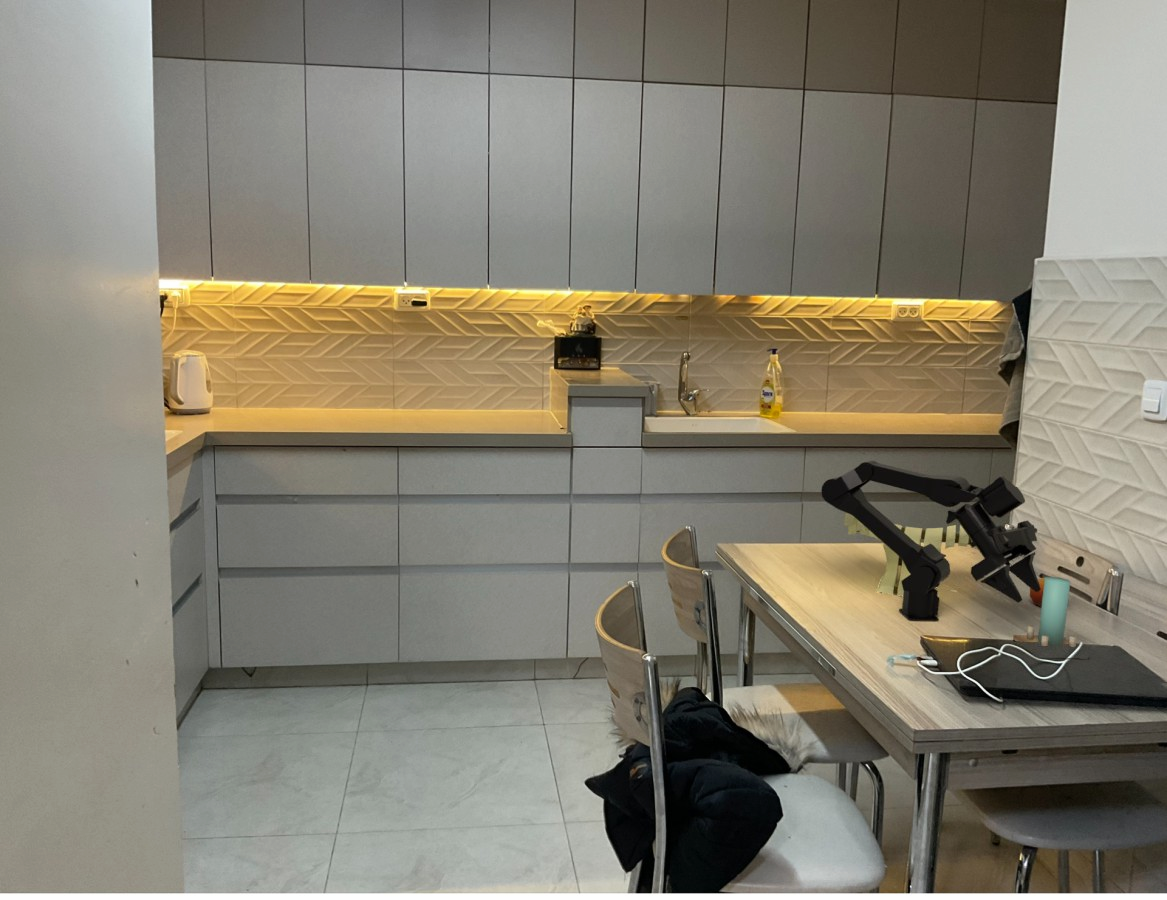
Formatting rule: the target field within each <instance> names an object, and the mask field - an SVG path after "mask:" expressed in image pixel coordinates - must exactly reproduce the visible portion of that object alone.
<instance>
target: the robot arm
mask: <svg viewBox="0 0 1167 900" xmlns="http://www.w3.org/2000/svg"><path fill="white" fill-rule="evenodd" d="M870 482H875V483H878V484H883V485H886V486H890V487H894V488H898V489H902V490H905V491H910V492H914V493H917V494H921V495H922V496H924V497H926V498H927V499H929V500H930V501H932V502H934V503H937V504H939V505H941V506H944V507H947V508H952V507H956V506H958V505H960V504H964V505H962V506H961V507H958V508H957V509H956V510H954V509H950V510H949V509H948V510H947V517H946V520H945V522H946V524H947V525H949V524H952V523H955V522H957V523H959V526H960V525H961V526H962V528H963V529H964V530H965V532H966V533H967V535H968V536H969V537H970V539H971V540H972V542H971V543H970V545H969V546H970V548H971V547H972V549H974V548H973V547H975V546H976V547H977V549H978V551H979V553H980V554H981V556H982V557H983V559H982V560H981V561H979V562H977V563H975V564H974V565H972V566H971V568H970V574H971V576H972V578H973V579H974V580H975V582H978V581H980V583H981V584H986V585H987V586H989V587H991V588H993V589H995V591H998V592H1000V593H1001V594H1003V595H1005V596H1006V597H1008V598H1010V599H1011V600H1012V601H1015V603H1020V602H1022V601H1023V597H1022V595H1021V594H1020V591H1019V590H1018V588H1017V586H1016V584H1015V583H1014V581H1013V578H1011V576H1010V573H1012V574H1013V575H1014V576H1015V577H1017V578H1018V580H1020V581H1021V582H1023V583H1024V584H1025V585H1026V586H1027V587H1029V589H1030V588H1031V589H1033V590H1034V591H1035V592H1038V591H1040V590H1041V588H1040V585H1039V582H1038V579H1039V578H1038V576H1037V574H1036V570H1035V568H1034V563H1033V561H1034V557H1035V556H1036V551H1035V550H1037V547H1036V546H1035V545H1034V542H1037V541H1038V538H1037V534H1036V533H1038V529H1037V528H1036V527H1035V526H1034V524H1032V523H1031V522H1030V521H1029V520H1024V521H1020V522H1018V523H1017V525H1016V528H1012V529H1008V530H1007V529H1006V528H1005V526H1003V525H1001V524H1000V525H997V524H996V522H994V520H993V517H997V518H999V519H1001V518H1003V517H1005V516H1006V515H1007V514H1009V513H1011V512H1013V511H1014V510H1015V509H1017V508H1018V507H1020V506H1022V505H1023V504H1025V502H1026V499H1025V497H1024V495H1023V493H1022V491H1021V490H1020V489H1019V487H1017V486H1015V484H1013V482H1011V481H1010V480H1008V479H1007V478H1006V477H1005V476H1004V475H1001V476H999V477H998V478H996V479H995V480H994V481H993V482H992V483H991V484H989V485H988V486H985V487H984V488H983V487H980V486H977V485H973V484H970V483H969V482H968V480H967V479H966V478H964V477H962V476H959V475H958V476H957V475H943V474H942V475H941V474H940V475H938V474H937V475H935V474H933V475H932V474H924V473H920V472H916V471H912V470H908V469H904V468H900V467H896V466H892V465H887V464H883V463H879V462H877V461H875V460H868V461H865V462H861V463H860V464H859V465H858V466H856V467H855V468H853V469H852V470H850V471H847V472H846V473H844V474H842V475H839V476H837V477H836V476H835V477H833V478H829V479H827V480H825V482H823V484H822V485H821V490H820V492H821V498H822V499H823V500H824V501H825V503H827V504H829V505H831V506H832V507H834V509H837V510H838V511H840V512H843V513H848V514H851V515H852V516H854V517H855V518H856V519H857V520H858V521H859V522H861V523H862V524H863V525H864V526H865V527H866V528H867V529H869V530H870V531H871V532H872V533H873V534H874V535H875V536H876V537H878V538H879V539H880V542H881V541H882V543H884V544H886V545H887V546H888V547H889V548H890V549H891V550H892V551H894V552H895V553H896V554H897V555H898V556H899V557H900V558H901V559H902V560H903V562H904V564H905V566H906V568H907V570H908V572H909V573H910V574H911V575H909V576H908V577H906V578H905V579H903V580H902V581H901V582H902V586H903V590H904V594H903V596H902V607H901V608H899V609H898V612H899V613H900V614H901V615H902V616H904V618H906V619H908V620H909V621H923V622H924V621H928V622H938V620H939V617H938V615H939V607H940V597H939V596H938V595H939V591H938V589H937V590H936V589H934V588H936V587H937V588H938V587H939V586H940V585H941V583H942V582H943V581H945V580H946V579H948V578H949V575H950V574H951V564H950V563H949V560H947V558H946V557H947V555H946V554H944V553H942V551H941V552H939V551H938V550H937V549H936V548H935V546H934V545H932V544H929V545H927V546H924V547H923V545H922V544H921V545H919V544H917V543H915V542H914V541H913V540H912V539H911V538H910V537H908V536H907V535H906V534H905V533H904V532H903V531H902V530H900V529H899V528H898V527H897V526H896V525H895V524H896V523H893V521H891V520H890V519H889V518H888V517H886V515H884V514H883V513H882V512H881V511H880V510H879V509H877V507H875V506H874V505H873V504H871V502H869V501H868V499H867V498H866V496H865V494H864V492H863V490H862V488H863V487H864V486H866V485H868V483H870ZM975 500H978V501H977V502H975V503H973V504H972V505H971V504H969V503H971V502H973V501H975ZM977 549H976V550H977Z"/></svg>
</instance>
